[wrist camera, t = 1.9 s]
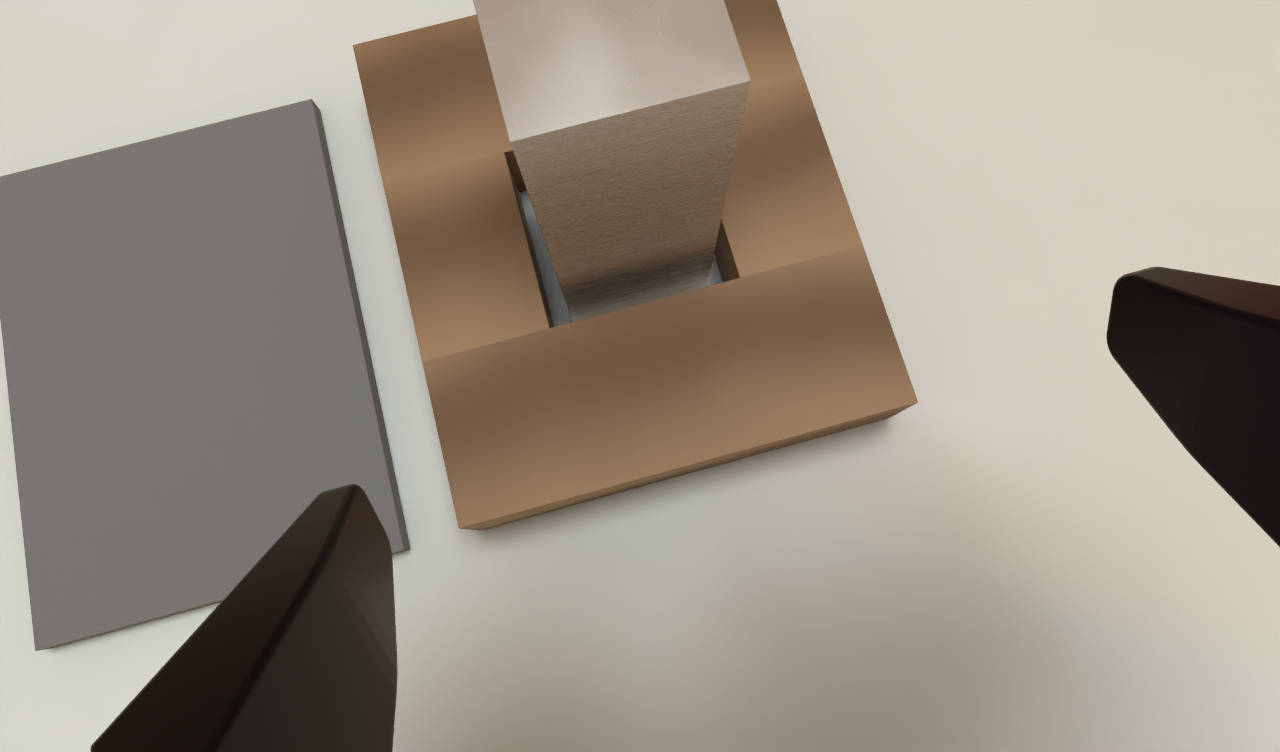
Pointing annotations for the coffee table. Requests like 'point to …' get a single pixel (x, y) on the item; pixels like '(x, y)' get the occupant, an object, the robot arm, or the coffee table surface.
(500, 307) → the brown wooden frame
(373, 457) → the grey mat
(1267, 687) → the coffee table surface
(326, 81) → the coffee table surface
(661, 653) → the coffee table surface
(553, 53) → the steel key bar
